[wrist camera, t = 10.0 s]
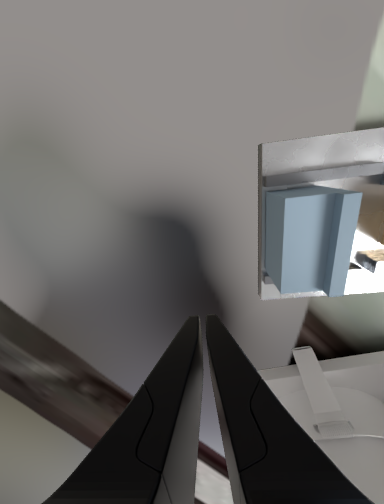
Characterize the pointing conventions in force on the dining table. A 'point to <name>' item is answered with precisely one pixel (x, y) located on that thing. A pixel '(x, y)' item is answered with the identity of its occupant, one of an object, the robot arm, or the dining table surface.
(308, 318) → the dining table surface
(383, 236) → the block
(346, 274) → the block
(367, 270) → the seat jig
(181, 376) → the robot arm
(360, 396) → the recessed light fixture
